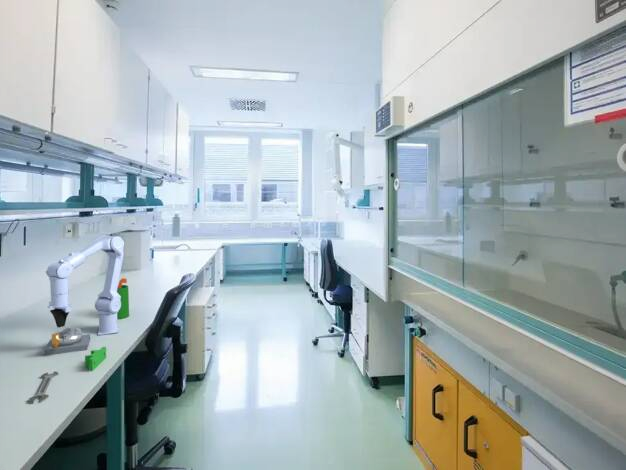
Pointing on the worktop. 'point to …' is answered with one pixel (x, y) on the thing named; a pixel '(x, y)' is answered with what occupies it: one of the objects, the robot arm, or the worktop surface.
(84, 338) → the base plate
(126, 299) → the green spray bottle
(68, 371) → the worktop surface
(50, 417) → the worktop surface
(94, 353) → the pipe clamp
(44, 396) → the wrench
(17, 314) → the worktop surface
